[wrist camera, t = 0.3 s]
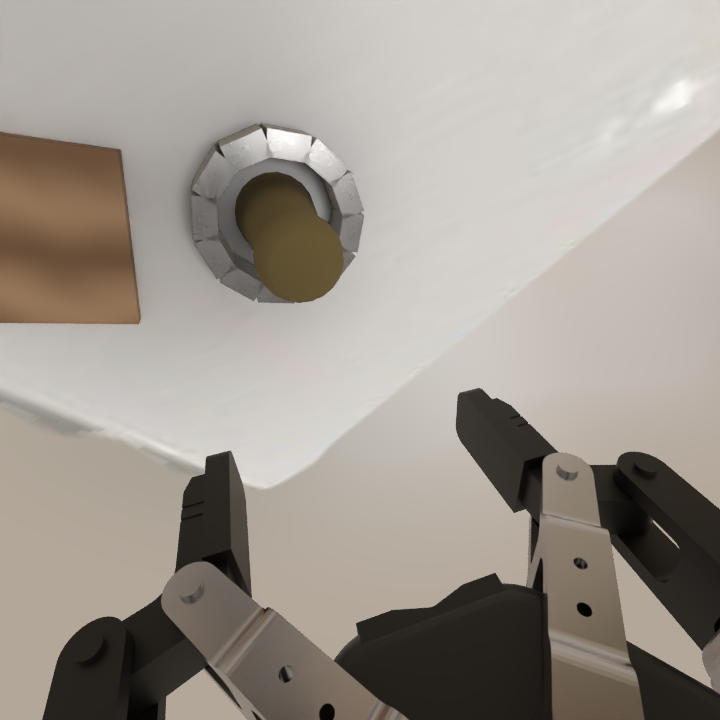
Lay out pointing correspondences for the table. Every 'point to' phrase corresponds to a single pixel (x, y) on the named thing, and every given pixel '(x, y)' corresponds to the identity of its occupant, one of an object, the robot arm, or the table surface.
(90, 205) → the walnut board
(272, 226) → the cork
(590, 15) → the table surface
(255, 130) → the metal collar
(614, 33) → the table surface
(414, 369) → the table surface
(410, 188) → the table surface
